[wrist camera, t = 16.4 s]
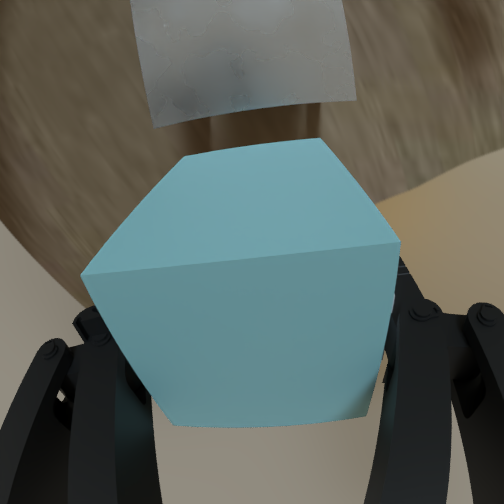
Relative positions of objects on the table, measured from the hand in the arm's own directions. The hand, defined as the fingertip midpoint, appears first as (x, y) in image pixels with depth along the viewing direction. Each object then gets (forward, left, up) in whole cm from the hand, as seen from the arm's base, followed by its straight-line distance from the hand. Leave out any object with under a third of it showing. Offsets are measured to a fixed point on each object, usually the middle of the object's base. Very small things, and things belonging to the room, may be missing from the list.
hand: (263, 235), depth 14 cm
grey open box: (0, +10, -16) cm, 19 cm away
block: (0, +1, -1) cm, 1 cm away
